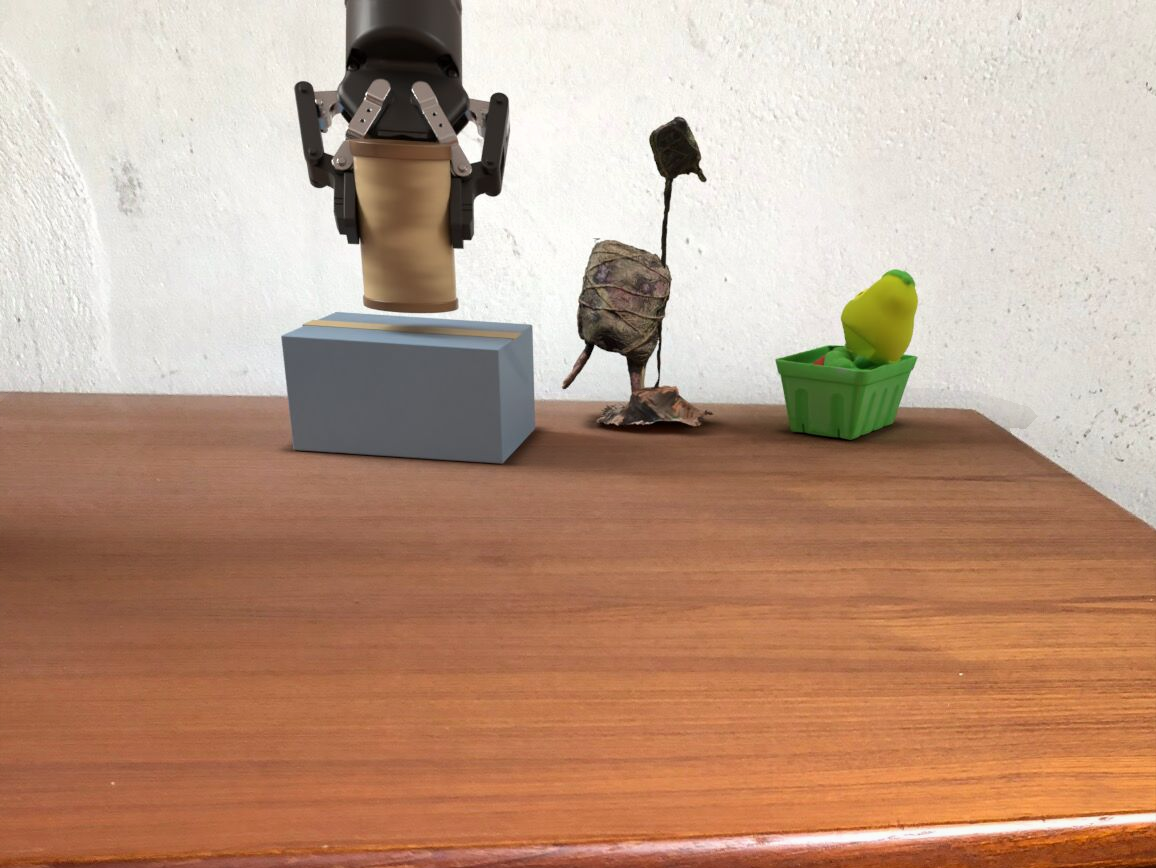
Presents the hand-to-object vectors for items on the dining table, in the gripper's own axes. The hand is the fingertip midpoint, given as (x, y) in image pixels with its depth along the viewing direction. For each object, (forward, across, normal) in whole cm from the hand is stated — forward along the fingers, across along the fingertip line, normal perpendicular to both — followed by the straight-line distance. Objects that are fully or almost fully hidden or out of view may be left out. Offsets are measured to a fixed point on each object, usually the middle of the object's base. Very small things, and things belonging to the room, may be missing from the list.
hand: (404, 236), depth 97 cm
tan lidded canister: (+2, 0, -4) cm, 5 cm away
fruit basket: (+2, -32, -16) cm, 36 cm away
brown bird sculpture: (+2, -16, -16) cm, 23 cm away
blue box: (+8, 0, -10) cm, 13 cm away
